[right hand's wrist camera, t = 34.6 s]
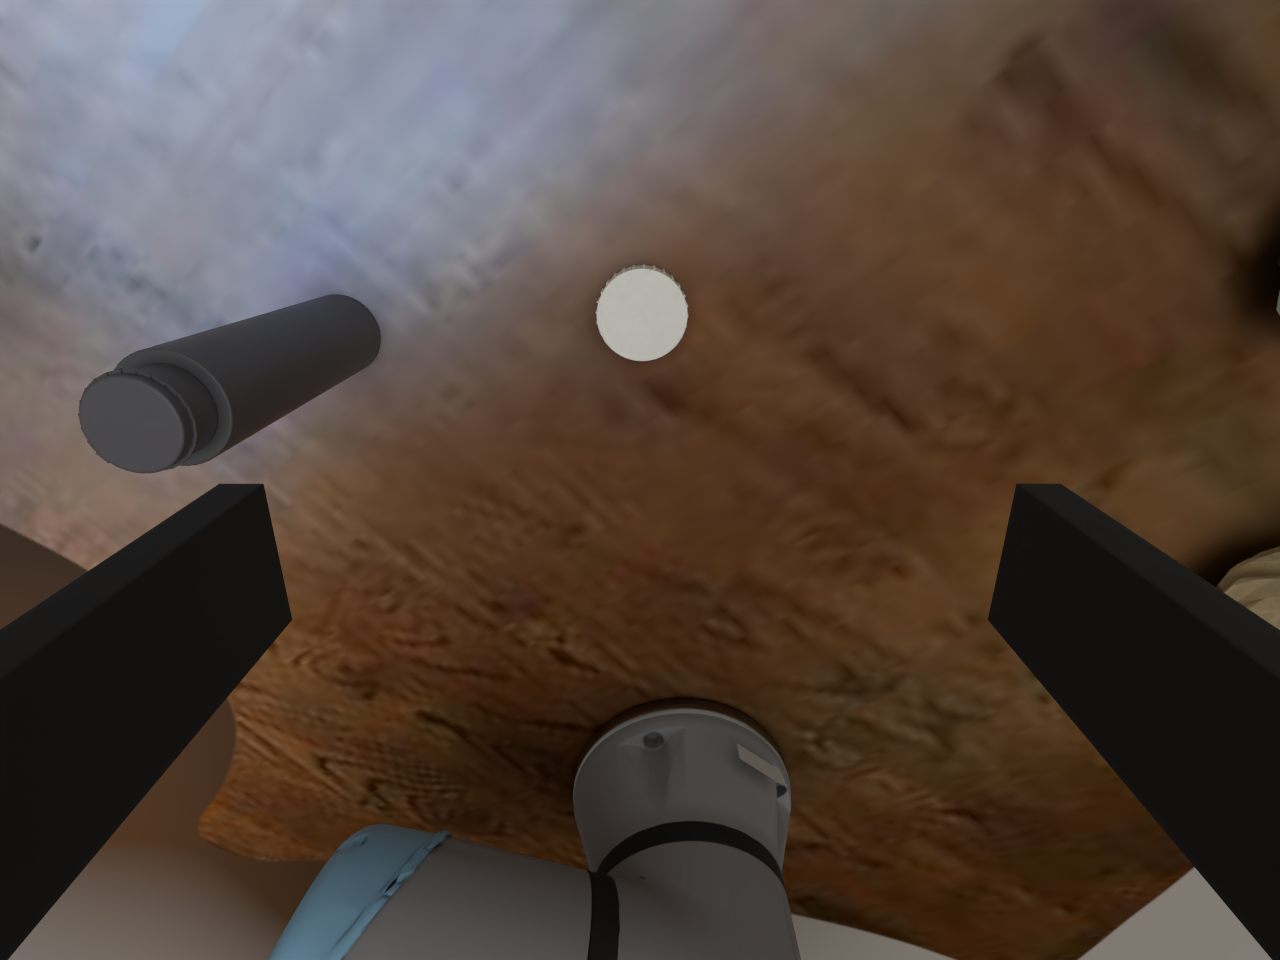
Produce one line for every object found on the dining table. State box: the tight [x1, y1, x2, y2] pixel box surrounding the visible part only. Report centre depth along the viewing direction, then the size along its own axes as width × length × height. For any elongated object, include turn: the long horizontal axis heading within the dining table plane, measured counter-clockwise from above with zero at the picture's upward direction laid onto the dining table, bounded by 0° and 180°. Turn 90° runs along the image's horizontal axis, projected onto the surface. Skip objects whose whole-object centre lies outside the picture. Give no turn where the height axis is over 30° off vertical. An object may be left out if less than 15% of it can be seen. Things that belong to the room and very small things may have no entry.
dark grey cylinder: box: [78, 295, 380, 473], centre depth 31 cm, size 4×4×17 cm
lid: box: [595, 264, 689, 361], centre depth 37 cm, size 5×5×2 cm
